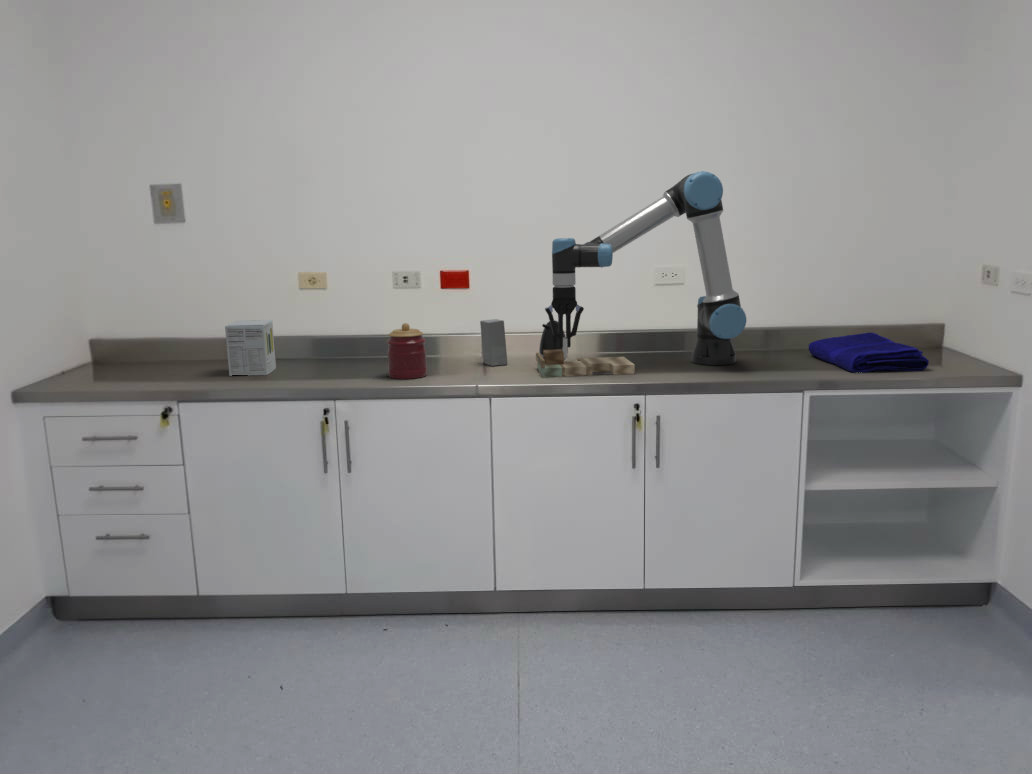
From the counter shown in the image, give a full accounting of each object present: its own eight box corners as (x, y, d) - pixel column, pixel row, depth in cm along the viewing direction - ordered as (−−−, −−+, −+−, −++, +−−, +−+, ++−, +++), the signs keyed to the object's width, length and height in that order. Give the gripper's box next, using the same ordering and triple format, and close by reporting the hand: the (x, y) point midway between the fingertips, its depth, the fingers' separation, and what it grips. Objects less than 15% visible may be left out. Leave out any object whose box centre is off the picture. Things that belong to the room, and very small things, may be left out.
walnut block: (561, 361, 278) (560, 349, 278) (563, 364, 272) (563, 352, 272) (543, 361, 278) (543, 350, 277) (545, 364, 272) (545, 352, 271)
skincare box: (507, 365, 290) (506, 320, 287) (488, 366, 287) (487, 321, 284) (499, 361, 298) (498, 317, 295) (480, 363, 295) (479, 319, 292)
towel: (851, 375, 262) (852, 347, 260) (804, 356, 297) (805, 332, 295) (930, 372, 264) (933, 345, 262) (875, 354, 299) (876, 330, 297)
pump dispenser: (533, 363, 293) (532, 320, 290) (553, 359, 300) (552, 317, 297) (553, 366, 285) (553, 322, 282) (574, 362, 293) (573, 319, 289)
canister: (429, 372, 280) (427, 320, 277) (424, 379, 268) (422, 325, 264) (391, 372, 281) (389, 321, 277) (385, 380, 268) (382, 326, 265)
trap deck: (623, 365, 285) (623, 349, 284) (634, 373, 269) (634, 357, 268) (536, 368, 282) (535, 352, 281) (542, 377, 267) (541, 360, 265)
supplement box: (268, 375, 281) (263, 324, 277) (228, 376, 280) (224, 325, 276) (277, 368, 294) (273, 319, 290) (239, 369, 293) (235, 320, 289)
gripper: (581, 284, 274) (582, 354, 278) (542, 285, 272) (543, 356, 277) (585, 286, 266) (586, 358, 271) (545, 287, 265) (546, 359, 270)
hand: (564, 357), depth 274 cm, fingers closed
